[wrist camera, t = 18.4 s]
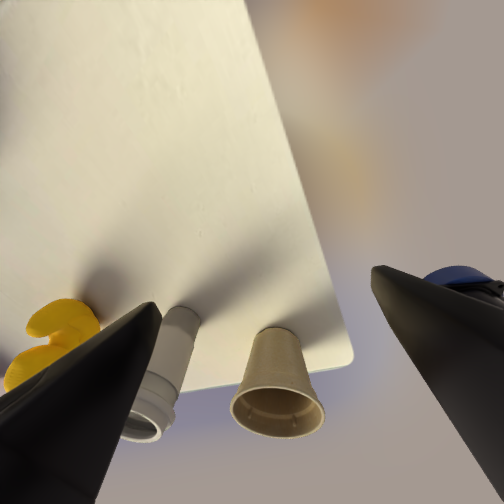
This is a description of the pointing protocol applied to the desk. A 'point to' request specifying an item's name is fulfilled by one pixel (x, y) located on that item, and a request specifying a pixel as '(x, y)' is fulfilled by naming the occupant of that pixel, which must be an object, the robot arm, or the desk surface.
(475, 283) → the robot arm
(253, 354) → the flower pot
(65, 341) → the duckling
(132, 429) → the cup
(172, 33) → the desk surface
